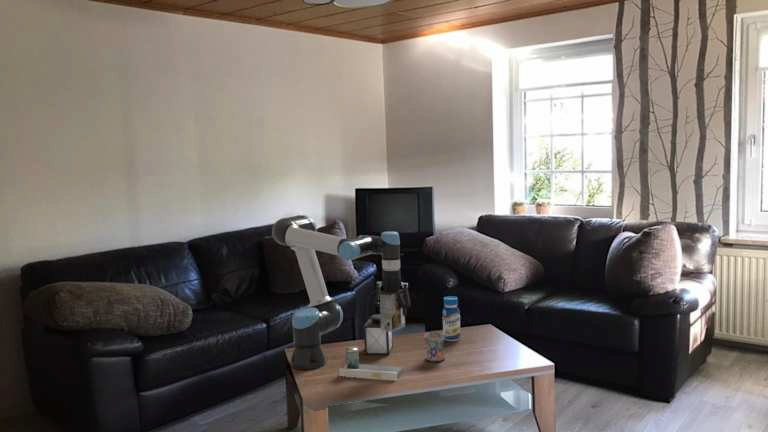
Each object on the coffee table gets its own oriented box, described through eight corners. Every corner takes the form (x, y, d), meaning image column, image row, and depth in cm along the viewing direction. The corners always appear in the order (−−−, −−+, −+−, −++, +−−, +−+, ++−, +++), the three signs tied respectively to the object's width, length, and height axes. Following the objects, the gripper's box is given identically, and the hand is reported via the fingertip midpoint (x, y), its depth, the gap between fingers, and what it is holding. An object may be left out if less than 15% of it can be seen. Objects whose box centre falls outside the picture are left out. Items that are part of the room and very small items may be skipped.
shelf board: (339, 376, 248) (339, 368, 248) (348, 368, 258) (347, 360, 257) (396, 380, 241) (395, 373, 240) (402, 371, 250) (402, 364, 250)
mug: (448, 362, 260) (447, 337, 258) (426, 363, 259) (425, 339, 257) (442, 353, 271) (441, 329, 270) (421, 354, 270) (420, 331, 269)
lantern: (393, 347, 283) (390, 287, 280) (389, 355, 272) (386, 293, 269) (369, 347, 284) (366, 288, 282) (364, 355, 273) (361, 293, 271)
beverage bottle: (459, 335, 295) (458, 295, 293) (462, 341, 287) (460, 299, 285) (442, 336, 295) (440, 296, 293) (444, 342, 287) (442, 300, 285)
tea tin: (344, 369, 250) (343, 350, 249) (349, 365, 255) (348, 346, 254) (356, 370, 249) (355, 351, 248) (361, 365, 254) (360, 347, 253)
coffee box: (393, 324, 262) (392, 287, 260) (405, 327, 257) (404, 289, 256) (380, 329, 255) (378, 291, 253) (392, 332, 250) (391, 293, 249)
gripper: (364, 270, 253) (366, 323, 255) (413, 271, 246) (414, 326, 249) (370, 266, 260) (372, 318, 262) (417, 268, 254) (419, 321, 256)
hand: (392, 322), depth 256 cm, fingers closed on coffee box, 8 cm apart
